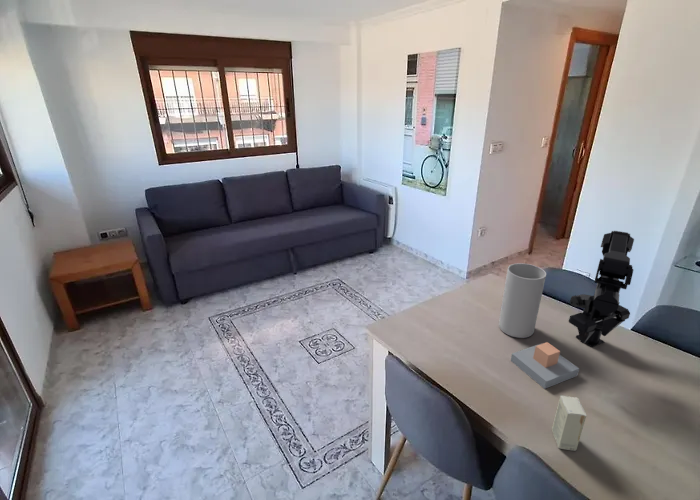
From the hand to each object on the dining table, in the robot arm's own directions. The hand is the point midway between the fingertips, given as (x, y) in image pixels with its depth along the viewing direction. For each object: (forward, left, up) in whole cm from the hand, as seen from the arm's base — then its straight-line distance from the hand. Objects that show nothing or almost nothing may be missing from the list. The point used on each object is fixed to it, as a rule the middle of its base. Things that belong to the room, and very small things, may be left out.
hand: (592, 338), depth 116 cm
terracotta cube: (+12, -5, -9) cm, 16 cm away
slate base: (+12, -5, -12) cm, 18 cm away
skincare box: (+29, +17, -12) cm, 36 cm away
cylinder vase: (+4, -25, -12) cm, 28 cm away
